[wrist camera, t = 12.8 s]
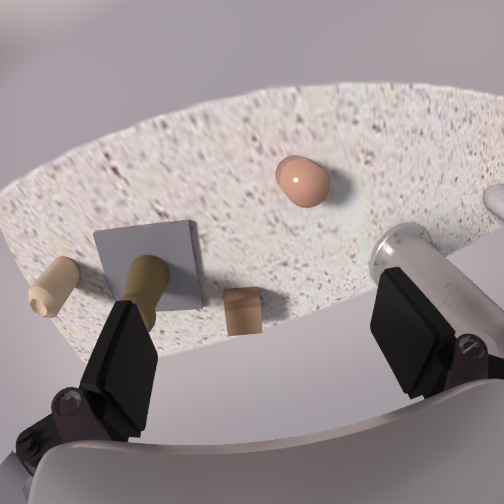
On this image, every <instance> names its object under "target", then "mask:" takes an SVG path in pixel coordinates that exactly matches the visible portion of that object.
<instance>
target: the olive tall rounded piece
mask: <svg viewBox="0 0 504 504" xmlns="http://www.w3.org/2000/svg"><path fill="white" fill-rule="evenodd" d="M169 279H170V271H169V268H168V266H167V264H166V263H165V262H164V261H163V260H162V259H160V258H158V257H156V256H153V255H141V256H139V257H137V258H136V259H135V260H133V262H132V264H131V266H130V270H129V274H128V278H127V282H126V286H125V290H124V294H123V296H122V297H121V298H120V299H119V300H118V301H121V300H131V301H132V302H133V303H135V304H137V306H138V309H139V311H140V314H141V316H142V319H143V321H144V323H145V326H146V328H147V331H148V332H150V331H151V329H152V328H153V326H154V325H155V321H156V312H155V308H156V306H157V304H158V302H159V300H160V298H161V296H162V294H163V292H164V290H165V288H166V286H167V284H168V282H169Z"/></svg>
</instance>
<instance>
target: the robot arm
mask: <svg viewBox="0 0 504 504" xmlns="http://www.w3.org/2000/svg"><path fill="white" fill-rule="evenodd" d="M446 256H447V253H446V251H445V250H439V251H438V250H437V249H436V248H434V247H433V246H432V245H431V239H430V236H429V234H428V232H427V231H426V230H425V229H424V228H423V227H421V226H420V225H418V224H415V223H404V224H400V225H398V226H396V227H394V228H393V229H391V230H390V231H388V232H387V233H386V234H385V235H384V236H383V237H382V239H381V240H380V241H379V242H378V244H377V246H376V248H375V249H374V252H373V254H372V257H371V262H370V273H371V276H372V279H373V280H374V282H375V283H376V285H377V286H378V290H377V295H376V300H375V305H374V310H373V314H372V319H371V323H370V329H371V332H372V334H373V336H374V338H375V340H376V341H377V343H378V345H379V347H380V349H381V351H382V352H383V354H384V356H385V358H386V360H387V362H388V363H389V365H390V367H391V369H392V371H393V373H394V374H395V377H396V379H397V380H398V382H399V384H400V386H401V388H402V390H403V392H404V393H405V394H407V393H408V395H409V397H410V399H413V398H416V397H418V396H421V395H423V397H424V400H422V401H420V402H417V403H414V404H412V405H409V406H406V407H404V408H401V409H398V410H395V411H393V412H390V413H387V414H384V415H381V416H378V417H374V418H371V419H368V420H365V421H361V422H357V423H354V424H350V425H347V426H342V427H339V428H334V429H330V430H326V431H321V432H316V433H312V434H307V435H301V436H296V437H289V438H283V439H276V440H268V441H261V442H250V443H239V444H224V445H159V444H141V443H130V442H128V438H129V437H138V438H140V435H141V431H144V430H145V427H146V419H147V414H148V408H149V403H150V397H151V392H152V386H153V381H154V376H155V371H156V366H157V361H158V354H157V351H156V349H155V347H154V344H153V342H152V340H151V338H150V335H149V333H148V331H147V328H146V326H145V323H144V321H143V319H142V316H141V314H140V311H139V309H138V306H137V304H135V303H133V302H132V301H131V300H121V301H116V302H115V304H114V306H113V308H112V310H111V312H110V314H109V316H108V318H107V321H106V323H105V325H104V327H103V329H102V331H101V334H100V336H99V338H98V340H97V343H96V345H95V347H94V350H93V352H92V354H91V357H90V359H89V361H88V364H87V367H86V369H85V371H84V374H83V377H82V379H81V382H80V386H79V388H75V387H67V388H65V389H62V390H61V391H59V392H58V393H57V394H56V395H55V397H54V398H53V401H52V404H51V410H52V413H51V414H50V415H48V416H47V417H45V418H43V419H42V420H40V421H39V422H37V423H36V424H34V425H32V426H31V427H29V428H27V429H26V430H24V431H23V432H22V433H20V435H19V436H18V438H17V441H16V453H15V452H14V451H12V452H11V453H10V454H9V455H8V456H7V458H6V459H5V460H4V461H3V462H2V463H1V465H0V504H504V310H503V309H501V308H500V307H499V306H498V305H497V304H496V303H495V302H494V301H492V300H491V299H490V298H489V297H488V296H487V295H486V294H485V293H484V292H483V291H482V290H481V289H480V288H479V287H477V286H476V285H475V284H474V283H473V282H472V281H471V280H470V279H469V278H468V277H467V276H466V275H464V274H463V273H462V272H461V271H460V270H459V269H458V268H457V267H455V266H454V265H453V264H452V263H451V262H450V261H449V260H447V259H446V258H445V257H446Z"/></svg>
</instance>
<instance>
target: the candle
mask: <svg viewBox="0 0 504 504" xmlns="http://www.w3.org/2000/svg"><path fill="white" fill-rule="evenodd" d="M79 278H80V273H79V270H78V267H77V266H76V264H75V263H74V262H73V261H72V260H71V259H69V258H67V257H63V256H60V257H58V258H56V259H55V260H54V261H53V262H52V263H51V264H50V265H49V266H48V268H47V269H46V270H45V271H44V272H43V273H42V274H41V276H40V277H39V278H38V279H37V280H36V282H35V283H34V284H33V285H32V287H31V288H30V289H29V292H28V296H29V301H30V305H31V308H32V310H33V311H34V312H36V313H38V315H39V316H40V317H47V318H53V317H55V316H56V315H57V314H58V312H59V311H60V309H61V308H62V306H63V304H64V303H65V301H66V300H67V298H68V297H69V295H70V294H71V292H72V291H73V289H74V288H75V286H76V284H77V283H78V281H79Z"/></svg>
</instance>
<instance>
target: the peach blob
mask: <svg viewBox="0 0 504 504" xmlns="http://www.w3.org/2000/svg"><path fill="white" fill-rule="evenodd" d="M276 180H277V183H278V185H279V186H280V187H281V189H282V190H283V191H284V192H285V194H286V195H287V196H288V198H289V199H290V200H291V201H292V202H293V203H294V204H295V205H297V206H299V207H303V208H310V207H314V206H316V205H318V204H320V203H321V202H322V201H323V200H324V199H325V198H326V196H327V194H328V192H329V188H330V181H329V177H328V175H327V173H326V172H325V170H324V169H323V168H321V167H320V166H318V165H316V164H315V163H313V162H311V161H309V160H308V159H306V158H304V157H302V156H298V155H293V156H289V157H286V158H285V159H283V160H282V161H281V162H280V163H279V165H278V167H277V169H276Z"/></svg>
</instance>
